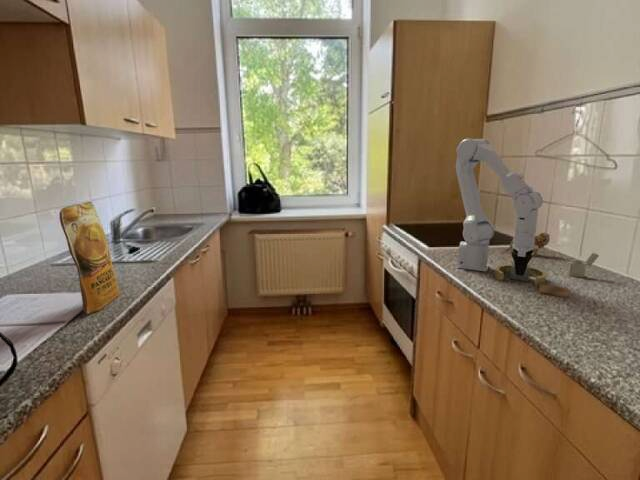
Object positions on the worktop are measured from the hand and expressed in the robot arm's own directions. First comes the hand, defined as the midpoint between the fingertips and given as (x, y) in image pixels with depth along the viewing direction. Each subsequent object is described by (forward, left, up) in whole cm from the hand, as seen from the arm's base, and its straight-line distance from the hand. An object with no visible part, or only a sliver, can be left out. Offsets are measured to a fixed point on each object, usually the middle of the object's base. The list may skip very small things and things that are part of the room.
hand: (520, 273), depth 116 cm
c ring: (0, +2, -2) cm, 3 cm away
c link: (0, 0, -2) cm, 2 cm away
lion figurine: (+1, +34, -2) cm, 34 cm away
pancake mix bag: (-100, -77, -2) cm, 126 cm away
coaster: (+9, -8, -2) cm, 12 cm away
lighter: (+17, +12, -2) cm, 21 cm away
